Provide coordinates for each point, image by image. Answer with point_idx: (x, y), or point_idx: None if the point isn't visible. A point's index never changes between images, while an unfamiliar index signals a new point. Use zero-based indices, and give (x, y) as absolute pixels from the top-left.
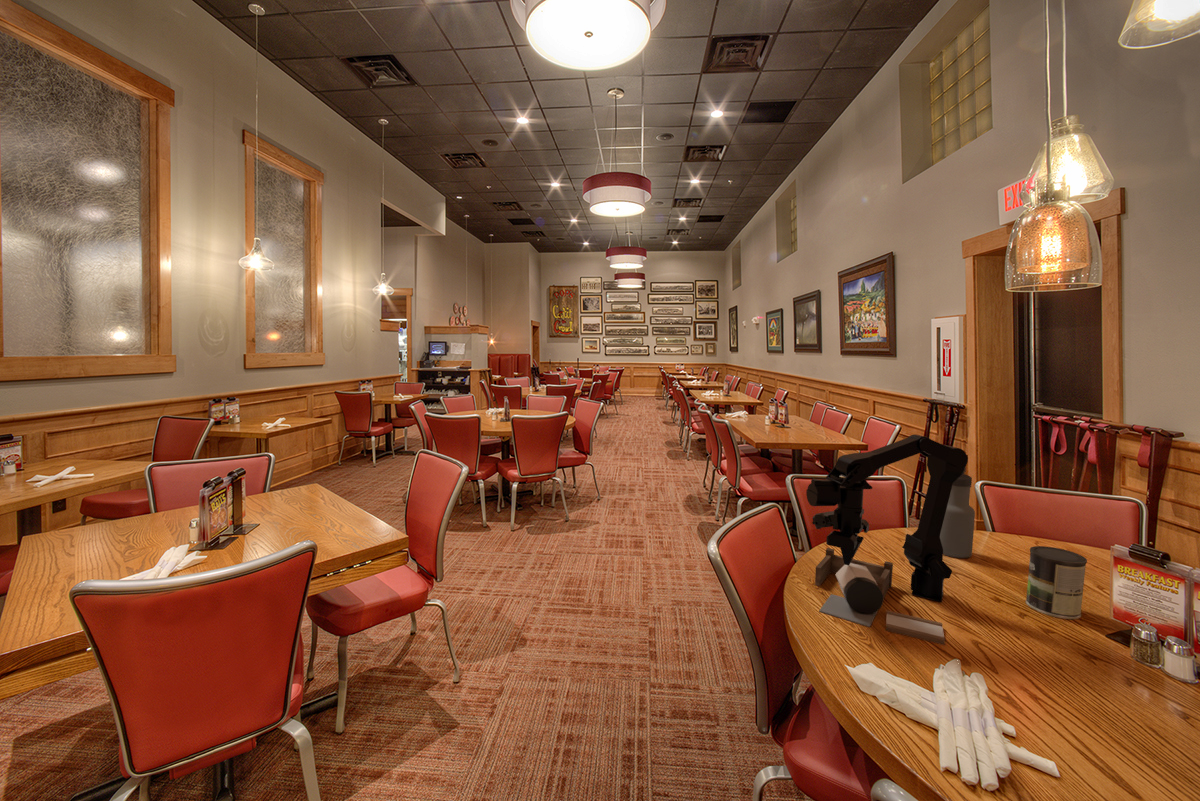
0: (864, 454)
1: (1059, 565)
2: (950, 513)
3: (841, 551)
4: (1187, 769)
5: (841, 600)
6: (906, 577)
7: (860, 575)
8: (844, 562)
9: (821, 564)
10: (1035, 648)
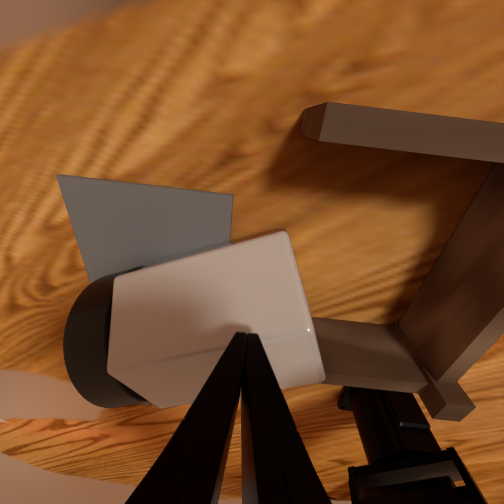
0: None
1: None
2: None
3: (171, 437)
4: (81, 476)
5: (200, 234)
6: (484, 365)
7: (143, 383)
8: (231, 342)
9: (400, 135)
10: (231, 455)
